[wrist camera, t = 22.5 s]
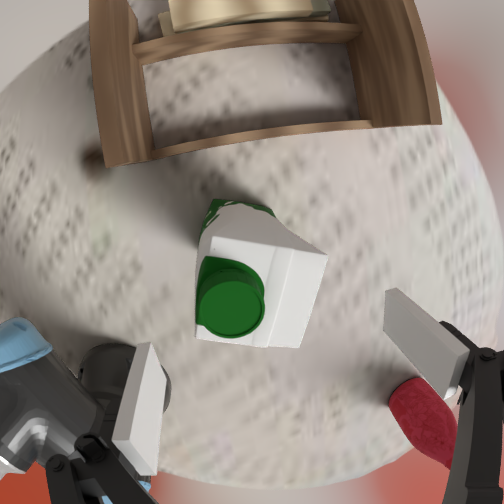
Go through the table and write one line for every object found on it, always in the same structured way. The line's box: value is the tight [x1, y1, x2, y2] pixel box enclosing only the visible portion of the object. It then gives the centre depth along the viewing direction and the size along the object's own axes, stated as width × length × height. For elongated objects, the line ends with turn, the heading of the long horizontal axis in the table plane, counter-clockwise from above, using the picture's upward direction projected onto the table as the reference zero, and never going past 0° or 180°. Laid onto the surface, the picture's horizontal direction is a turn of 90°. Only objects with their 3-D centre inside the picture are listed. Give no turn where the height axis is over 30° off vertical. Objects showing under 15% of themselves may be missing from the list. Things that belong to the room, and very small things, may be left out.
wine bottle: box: [389, 378, 458, 470], centre depth 38 cm, size 10×10×30 cm
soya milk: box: [195, 199, 328, 348], centre depth 28 cm, size 9×9×20 cm
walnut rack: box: [89, 0, 442, 168], centre depth 24 cm, size 28×19×14 cm, turn 99°
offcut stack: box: [158, 0, 332, 37], centre depth 26 cm, size 20×6×6 cm, turn 104°
